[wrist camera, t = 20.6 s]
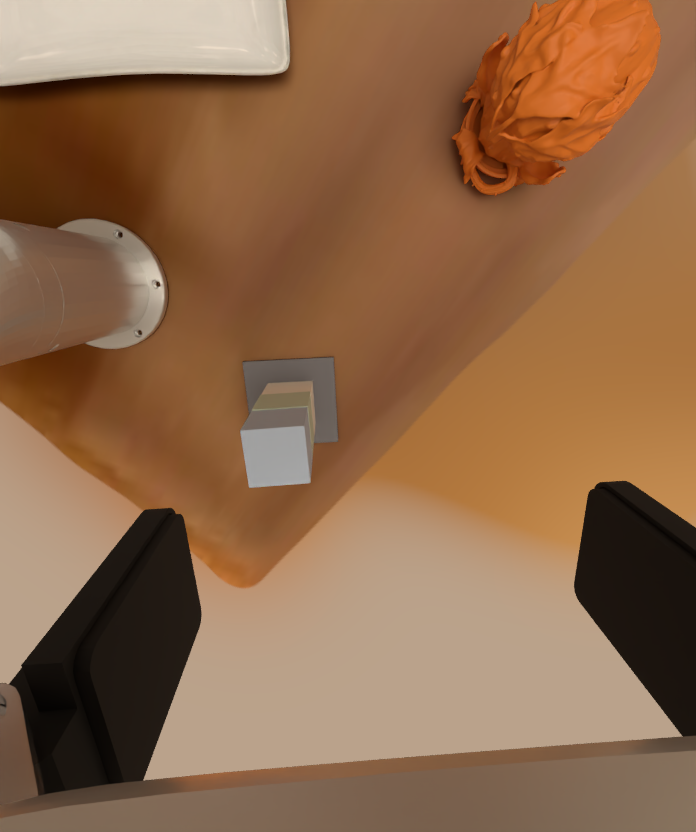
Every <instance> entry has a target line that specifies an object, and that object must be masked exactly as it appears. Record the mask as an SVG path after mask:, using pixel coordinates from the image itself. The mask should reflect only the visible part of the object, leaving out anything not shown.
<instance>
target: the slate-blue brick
mask: <svg viewBox="0 0 696 832" xmlns="http://www.w3.org/2000/svg"><path fill="white" fill-rule="evenodd" d="M240 433H241V439H242V445H243V452H244V458H245V464H246V471H247V477H248V483H249V488H253V487H266V486H279V485H291V484H304V483H310V480H311V469H312V448H311V438H310V428H309V418H308V408H307V407H299V408H286V409H273V410H260V411H251V413H250V414H249V416H248V418H247V420H246V421H245V423H244V425H243V427H242V428H241V430H240Z"/></svg>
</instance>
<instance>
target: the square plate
mask: <svg viewBox="0 0 696 832" xmlns="http://www.w3.org/2000/svg"><path fill="white" fill-rule="evenodd" d="M289 63H290V43H289V30H288V17H287V7H286V0H0V86H11V85H21V84H30V83H38V82H47V81H56V80H65V79H75V78H86V77H99V76H111V75H127V74H220V75H272V74H279V73H282V72H284V71H286V70H287V69H288V67H289Z"/></svg>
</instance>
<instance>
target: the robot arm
mask: <svg viewBox="0 0 696 832" xmlns="http://www.w3.org/2000/svg"><path fill="white" fill-rule="evenodd" d="M120 233H123V237H121V236H120ZM157 282H160V287H159V286H158V285H157ZM167 303H168V288H167V280H166V277H165V274H164V271H163V268H162V266H161V264H160V262H159V260H158V258H157V256H156V255H155V254H154V252H153V251H152V250H151V248H150V247H149V246H148V245H147V244H146V243H145V242H144V241H143V240H142V239H141V238H140V237H139V236H137V235H136V234H135V233H133V232H132V231H130V230H129V229H127V228H125V227H123V226H120V225H118V224H116V223H112V222H109V221H106V220H100V219H93V218H89V219H78V220H74V221H70V222H67V223H65V224H63V225H61V226H59V227H58V228H56V229H54V228H48V227H42V226H37V225H31V224H25V223H19V222H13V221H8V220H2V219H0V366H2V365H5V364H9V363H12V362H16V361H20V360H23V359H28V358H31V357H35V356H39V355H42V354H46V353H50V352H53V351H57V350H60V349H64V348H68V347H71V346H75V345H79V344H82V343H85V344H88V345H90V346H94V347H98V348H103V349H119V348H126V347H129V346H132V345H135V344H137V343H139V342H141V341H143V340H145V339H146V338H148V337H149V336H150V335H151V334H153V333H154V331H155V330H156V329H157V328H158V326H159V325H160V323H161V321H162V319H163V317H164V315H165V312H166V308H167ZM140 330H141V331H142V334H140V332H139V331H140ZM574 588H575V593H576V596H577V599H578V600H579V602H580V603H581V604H582V606H583V607H584V608H585V610H586V611H587V612H588V614H589V615H590V616H591V618H592V619H593V620H594V621H595V623H596V624H597V625H598V627H599V628H600V629H601V631H602V632H603V633H604V634H605V636H606V637H607V638H608V640H609V641H610V642H611V644H612V645H613V646H614V647H615V649H616V650H617V651H618V653H619V654H620V655H621V656H622V658H623V659H624V660H625V662H626V663H627V664H628V666H629V667H630V668H631V670H632V671H633V672H634V674H635V675H636V676H637V677H638V679H639V680H640V681H641V683H642V684H643V685H644V686H645V688H646V689H647V690H648V692H649V693H650V694H651V696H652V697H653V698H654V700H655V701H656V702H657V703H658V705H659V706H660V707H661V709H662V710H663V711H664V713H665V714H666V715H667V716H668V718H669V719H670V720H671V722H672V723H673V724H674V725H675V727H676V728H677V729H678V731H679V732H680V733H681V735H682V736H683V737H672V738H658V739H643V740H629V741H614V742H602V743H587V744H573V745H560V746H548V747H535V748H521V749H508V750H496V751H495V750H494V751H481V752H468V753H455V754H444V755H430V756H417V757H404V758H392V759H379V760H368V761H357V762H345V763H333V764H332V763H331V764H319V765H307V766H297V767H296V766H295V767H284V768H272V769H261V770H248V771H237V772H224V773H213V774H203V775H194V776H185V777H175V778H164V779H155V780H145V781H143V779H144V776H145V774H146V771H147V768H148V766H149V763H150V760H151V757H152V755H153V751H154V749H155V747H156V744H157V741H158V738H159V736H160V733H161V730H162V727H163V724H164V722H165V719H166V717H167V714H168V711H169V709H170V706H171V703H172V700H173V697H174V695H175V692H176V689H177V687H178V684H179V681H180V679H181V676H182V673H183V670H184V668H185V665H186V662H187V660H188V657H189V654H190V651H191V648H192V646H193V643H194V641H195V637H196V635H197V632H198V630H199V627H200V623H201V606H200V601H199V596H198V591H197V585H196V580H195V575H194V570H193V564H192V559H191V554H190V549H189V544H188V538H187V533H186V528H185V523H184V519H183V516H182V515H181V514H176V513H175V511H174V510H173V509H172V508H165V509H148V510H144V511H143V512H142V513H141V514H140V516H139V517H138V518H137V519H136V521H135V522H134V524H133V525H132V526H131V527H130V528H129V530H128V531H127V532H126V533H125V535H124V536H123V537H122V539H121V540H120V541H119V542H118V543H117V545H116V546H115V547H114V549H113V550H112V551H111V552H110V554H109V555H108V556H107V558H106V559H105V560H104V561H103V562H102V564H101V565H100V566H99V568H98V569H97V570H96V572H95V573H94V574H93V575H92V577H91V578H90V579H89V580H88V582H87V583H86V584H85V585H84V587H83V588H82V589H81V591H80V592H79V593H78V594H77V595H76V597H75V598H74V599H73V601H72V602H71V603H70V604H69V606H68V607H67V608H66V609H65V611H64V612H63V613H62V614H61V616H60V617H59V618H58V620H57V621H56V622H55V623H54V625H53V626H52V627H51V628H50V630H49V631H48V632H47V633H46V635H45V636H44V637H43V638H42V640H41V641H40V642H39V644H38V645H37V646H36V647H35V649H34V650H33V651H32V652H31V654H30V655H29V656H28V657H27V659H26V660H25V661H24V663H23V664H22V665H21V666H22V668H21V670H20V671H19V672H18V673H17V675H16V676H15V677H14V679H13V680H12V681H11V682H10V684H6V683H0V832H696V528H695V527H694V526H692V525H691V524H689V523H688V522H687V521H685V520H684V519H682V518H681V517H679V516H678V515H676V514H675V513H673V512H672V511H670V510H669V509H668V508H666V507H665V506H663V505H662V504H660V503H659V502H657V501H656V500H655V499H653V498H652V497H650V496H649V495H647V494H646V493H644V492H643V491H641V490H640V489H639V488H637V487H636V486H634V485H633V484H631V483H629V482H627V481H615V482H600V483H598V484H597V485H596V486H595V489H592V490H590V492H589V494H588V498H587V505H586V511H585V517H584V524H583V530H582V537H581V543H580V550H579V556H578V562H577V569H576V575H575V582H574Z"/></svg>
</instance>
